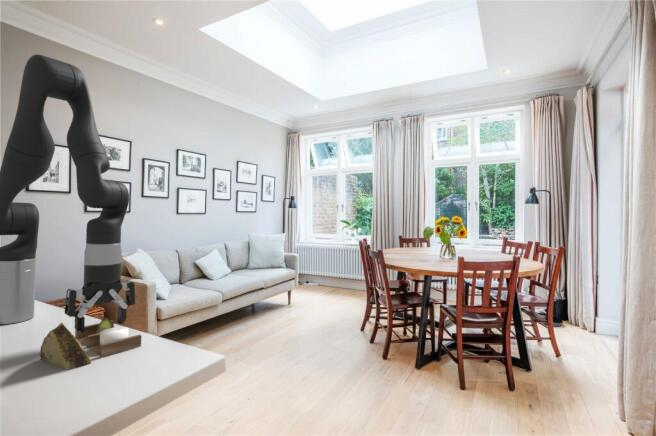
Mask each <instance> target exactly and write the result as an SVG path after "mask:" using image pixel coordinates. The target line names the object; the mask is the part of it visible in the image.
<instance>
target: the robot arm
mask: <svg viewBox="0 0 656 436" xmlns="http://www.w3.org/2000/svg"><path fill="white" fill-rule="evenodd" d="M47 98H51V99H55V100H60V101H65V102H66V103H68V105H69V107H70V109H71V111H72V120H71V123H70V125H69V128H68V131H67V134H66V145H67V148H68V149H67V150H68V152H69V154H70V156H71V159H72V161H73V164H74V166H75V169H76V170H75V172H76V174H75V175H76V191H77V195H78V198H79V200H80V201H81V202H82V203H83V204H84V205H85V206H86V207H89V208H92V209H101V212H100V214H99V216H98V217H95V218H92V219H89V220H88V221H87V223H86V235H85V249H84V257H83V260H84V261H83V286H82V287H81V288H75V289H73V288H68V289H67V290H66V294H65V302H64V303H65V305H64V306H65V307H64V314H65V315H66V316H68V317H70V318H72V317H73V318H74V330H76V331H78V332H79V333H84V326H86V324H85V321H86V320H85V319H86V318H85V314H87V312H88V310H90V309H92V307H93V306H94V305H96V306H98V305H102V304H104V303H105V304H109V303H112V302H114V304H116V306H118V308H117V317H116V321H117V324H119V325H123V324H125V321H126V320H127V309H128V308H129V307H130V306H134V305H135V304H136V291H135V289H136V288H135V287H136V286H135V282H134V281H130V280H127V281H125V282H122V281H121V278H122V260H123V256H122V243H121V242H122V239H121V238H122V225H123V223H124V220H125V216H126V214H127V213H126V212H127V210H128V207H129V202H130V192H129V189H128V187H127V185H125V184H124V183H123V182H122V181H118V180H113V179H111V180H110V179H103V177H102V175H103V174H104V173H106V172H108V170H110V167H111V163H110V159H109V157H108V154H107V152H106V150H105V148H104V145H103V143H102V140H101V138H100V135H99V132H98V131H99V130H98V127H97V124H96V120H95V114H94V110H93V105H92V100H91V96H90V90H89V85H88V83H87V80H86V77H85V75H84V72H83V71H82V70H81V69H80V68H79V67H77V66H75V65H73V64H70V63H67V62H64V61H61V60H58V59H55V58H52V57H48V56H46V55H42V54H34V55H31V56H30V57H29V58H28V60H27V61H26V64H25V65H24V69H23V74H22V79H21V84H20V91H19V96H18V103H17V109H16V112H15V116H14V121H13V124H12V128H11V131H10V134H9V137H8V139H7V142H6V145H5V148H4V149H5V150H4V153H3V157H2V161H1V166H0V236H17V237H16V239H14V240H13V241H12V242H10V243H7V244H5V245H2V246H0V325H9V324H17V323H20V322H25V321H29V320H31V319H34V317H35V301H36V300H35V299H36V297H35V295H36V290H35V289H36V260H37V259H36V257H37V248H38V238H39V228H40V212H39V209H38V207H37V205H35V204H34V203H32V202H18V201H17V202H16V201H14V200H15V198H16V197H17V196H18V195H19V194H20V193H21V192H23V190H25V189H26V188H27V187H29V186H30V185H31V184H33V183H34V182H36V181H37V180H39V179H40V178H41V177H42V176H44V175H45V174H46V173H47V172H48V171H49V169H50V166H51V163H52V161H53V158H54V156H55V155H54V154H55V152H56V151H55V150H56V146H55V142H54V139H53V137H52V134H51V132H50V130H49V127H48V125H47V123H46V121H45V117H44V111H45V104H46V102H47ZM122 289H123V290H124V292H125V300H124V299H123V298H122V297H121V296H120V295H119V293H120V292H121V291H122ZM81 295H83V296H84V298H83V299H82V300H81V302H80V303H79V306H78V307H76V304H77V303H76V302H77V299H79V298H80V296H81Z"/></svg>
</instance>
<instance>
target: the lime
mask: <svg viewBox="0 0 656 436" xmlns="http://www.w3.org/2000/svg"><path fill="white" fill-rule="evenodd" d="M99 323H100V324H99V326H98V329H97V331H96V334H97V333H100V332H101V331H103V330H106V329H109V328H113V326H112V322H111V319H110V318H108V317H102V318H101V321H100V322H99Z"/></svg>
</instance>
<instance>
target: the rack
mask: <svg viewBox="0 0 656 436" xmlns="http://www.w3.org/2000/svg"><path fill="white" fill-rule="evenodd" d="M110 320H111V319H110ZM111 322H112V326H113V328H115V327H114V326H115V325H114V324H115V322H114V320H111ZM99 324H100V322H98V323H93V324H90V325H85V326H84V333H79V332H78V331H76V330H75V329H74V330H75V332H74V333H75V334H74V337H75V338H76V339H77V340H78V341H79V342H80V344H81V345H83V346H85V347H86V348H88V349H89V350H91V351H92V352H94V353H95V354H97V355H98V356H99V357H100V358H105V357H108V356H112V355H115V354H119V353H122V352H126V351H129V350H133V349H136V348H140V347H142V334H136V335H133V336H128V338H124V339H120V340H116V341H112V342H108V343H104V344H101V347H100V333H97V334H96V331H97V329H98V326H99Z"/></svg>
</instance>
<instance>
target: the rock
mask: <svg viewBox="0 0 656 436" xmlns="http://www.w3.org/2000/svg"><path fill="white" fill-rule="evenodd" d="M39 357H40V360H41V361H45V362H47V363H50V364H53V365H55V366H58V367H60V368H62V369H65V370H71V369H77V368H81V367H84V366H88V365H91V364H92V363H91V362H92V361H91V358H90V357H89V355H88V354H87V352H86V351H85V349H84V348H83V344H82V343H81V342H79V341H78V340H77V339H76V338H75V335H73V334H72V332H71V331H70V330H69V329H68V328H67V327H66V325H65V324H64V322H60V323H59V324H58V325H57V326H56V327H54V328H53V329H51V330H50V331H49V332H48V333H47V335H46V336H44V338H43V340H42V343H41V346H40V352H39Z"/></svg>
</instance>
